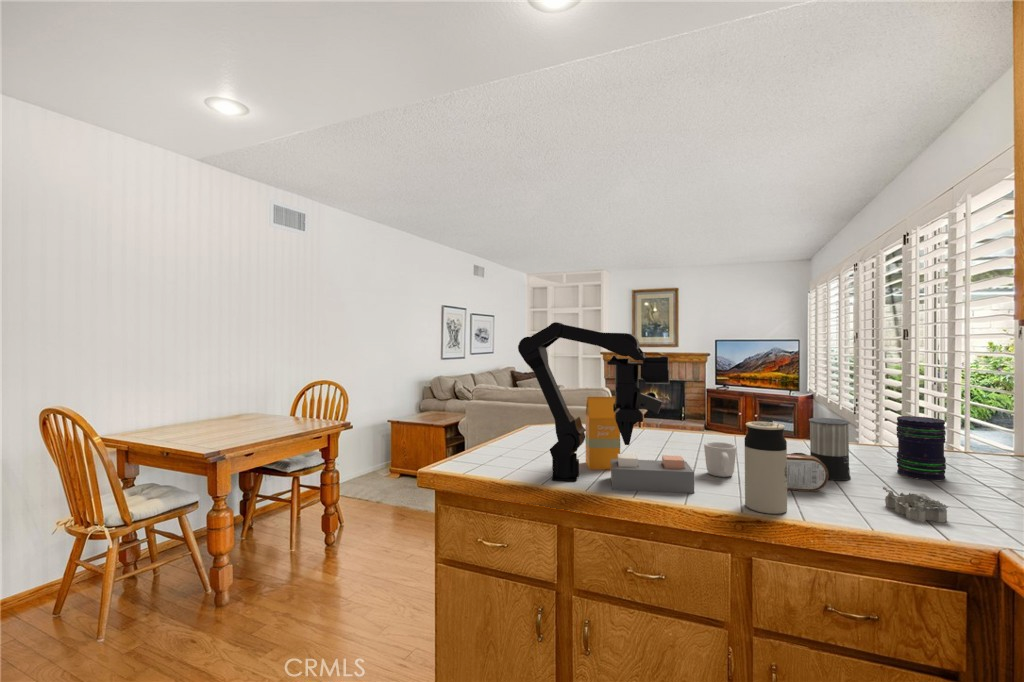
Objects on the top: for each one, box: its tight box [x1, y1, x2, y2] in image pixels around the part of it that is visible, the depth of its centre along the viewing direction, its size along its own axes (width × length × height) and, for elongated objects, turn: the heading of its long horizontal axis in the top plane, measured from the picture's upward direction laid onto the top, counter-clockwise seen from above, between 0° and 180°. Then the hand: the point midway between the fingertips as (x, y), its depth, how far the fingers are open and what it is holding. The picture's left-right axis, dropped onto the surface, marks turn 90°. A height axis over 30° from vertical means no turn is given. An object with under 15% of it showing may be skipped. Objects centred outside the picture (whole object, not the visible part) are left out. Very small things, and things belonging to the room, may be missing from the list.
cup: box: [703, 441, 737, 478], centre depth 125 cm, size 11×8×8 cm
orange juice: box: [584, 396, 621, 470], centre depth 136 cm, size 8×9×20 cm
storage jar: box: [896, 415, 947, 481], centre depth 125 cm, size 10×10×15 cm
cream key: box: [618, 453, 639, 467], centre depth 118 cm, size 5×5×4 cm
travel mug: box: [744, 421, 788, 515], centre depth 101 cm, size 8×8×18 cm
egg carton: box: [882, 486, 950, 523], centre depth 98 cm, size 11×8×4 cm
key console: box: [610, 459, 695, 494], centre depth 117 cm, size 19×10×5 cm, turn 80°
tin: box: [787, 453, 829, 492], centre depth 114 cm, size 15×3×8 cm, turn 77°
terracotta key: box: [661, 455, 685, 469], centre depth 117 cm, size 5×5×4 cm
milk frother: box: [790, 417, 851, 481], centre depth 128 cm, size 14×16×15 cm
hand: (627, 444), depth 119 cm, fingers closed
